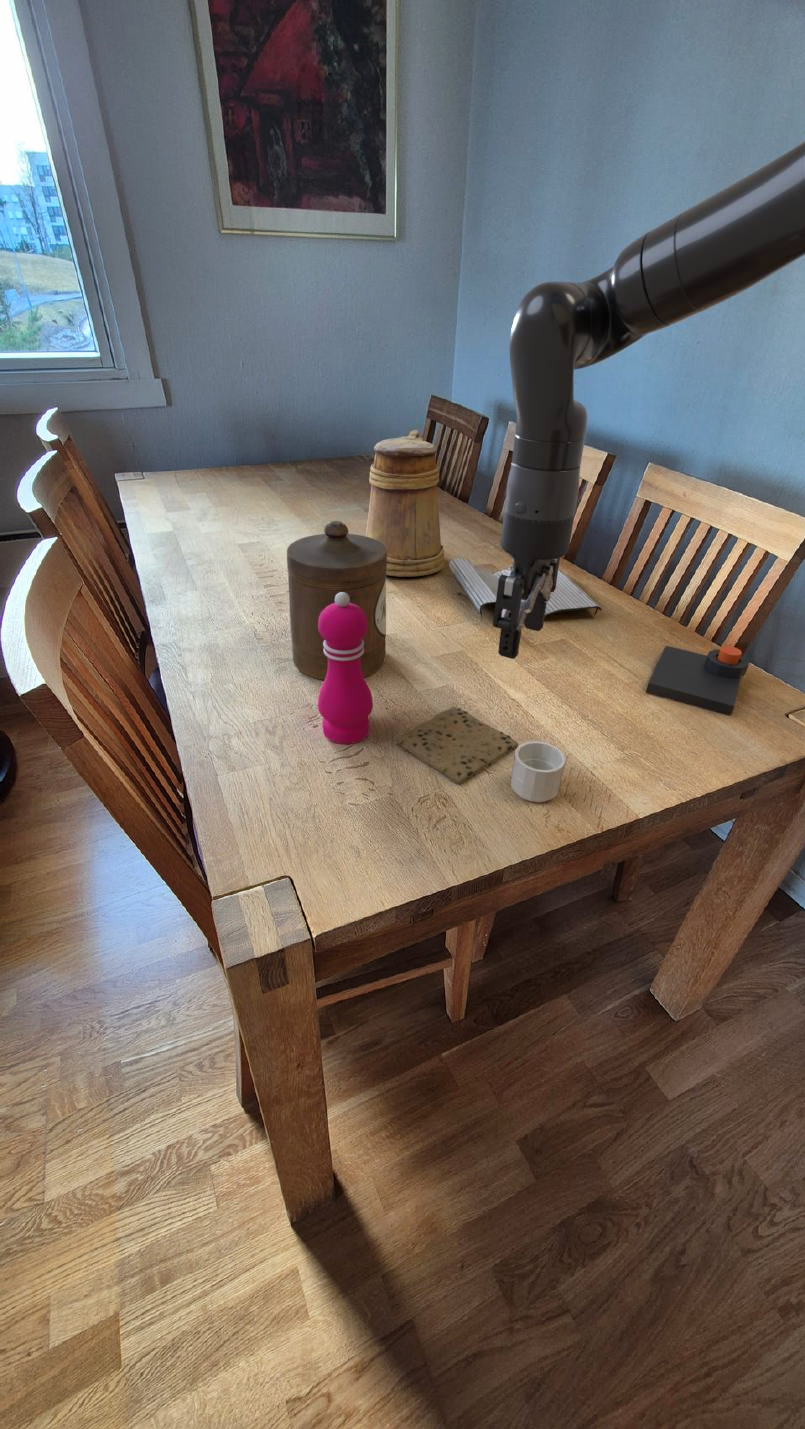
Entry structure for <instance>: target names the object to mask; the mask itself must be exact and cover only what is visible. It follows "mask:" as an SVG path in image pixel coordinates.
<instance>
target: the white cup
mask: <svg viewBox="0 0 805 1429" xmlns="http://www.w3.org/2000/svg"><path fill="white" fill-rule="evenodd" d="M566 763H567V762H566V755H565V754H564V753H563V751H562V750H561V749H560V748H558V747H557V746H555V745H554V744H551V743H548V742H545V741H539V740H538V741H537V740H532V741H526V742H523V743H521V744H518V747H517V748H515V749H514V756H513V761H512V767H511V773H510V780H509V782H510V788H511V789H512V790H513V793H515V794H516V795H517V796H518V797H520V798H521V799H522V800H525V801H528V802H531V803H545V802H548V801H551V800H552V799H554V798H556V797H557V796H558V795H559V792H560V789H561V784H562V781H563V775H564V771H565V766H566Z"/></svg>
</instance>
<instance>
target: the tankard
mask: <svg viewBox="0 0 805 1429" xmlns="http://www.w3.org/2000/svg"><path fill="white" fill-rule="evenodd" d="M437 450H438V449H437V447H436V446H435V445H434V444H433V443H431V442H428V441H427V439H425V438H424V437H420V431H419V430H418V429H412V430H410V432H409V434H408V435H407V436H403V435H402V436H399V437H393V438H386V439H383V440H380V441H378V442H377V443H376V444H375V445H374V447H373V451H374V452H375V453H374V460H373V463H372V464H371V465H370V471H369V478H368V483H369V484H370V485H371V486H370V496H369V505H368V514H367V521H366V522H367V523H366V530H365V536H366V537H370V538H372V539H375V540H377V541H379V542H381V543H382V544H383V545H384V546H385V547H386V550H387V569H386V576H391V577H399V578H400V577H401V578H402V577H403V578H405V577H406V578H409V577H410V578H411V577H422V576H428V575H432V574H435V573H437V572H440V571H441V570H443V569H444V568H445V554H444V553H445V546H444V545H442V539H441V525H440V524H441V522H440V508H439V506H440V505H439V491H438V484H439V483H440V470H439V466H438V465H437V462H436V461H437V460H436V453H437Z"/></svg>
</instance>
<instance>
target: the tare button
mask: <svg viewBox="0 0 805 1429" xmlns="http://www.w3.org/2000/svg"><path fill="white" fill-rule="evenodd" d="M741 655H743V652H742V650H741V649H739V648H738V647H735V646H732V645H731V646H730V645H723V646H721V647H720V652H719V655H718V660H720V661H722V662H724V663H728V664H738V662H739V659H740V657H741Z"/></svg>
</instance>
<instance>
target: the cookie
mask: <svg viewBox="0 0 805 1429" xmlns="http://www.w3.org/2000/svg"><path fill="white" fill-rule="evenodd" d="M393 742H394V743H396V744H397V745H398V746H400V747H402V748H404V749H405V750H406V751H408V752H410V753H411V754H413V755H414V756H416V757H417V758H418V759H419V760H421V761H422V762H423V763H425V764H426V765H429V766H430V767H432V768H434V769H436V770H437V771H439V772H440V773H441V774H443V775H445V776H446V777H447V778H449V779H450V781H452V782H454V783H456V785H461V784H463V783H464V782H465V781H467V780H469V779H470V778H471V777H474V776H476V775H477V774H478V773H479V772H481V771H483V770H484V769H485V768H487V767H490V766H491V765H492V764H494V763H495V762H496V761H497V760H499V759H501V758H502V757H504V756H506V755H508V754H509V753H510V752H512V751H515V750H516V749H517V747H518V746H519V742H517V740H514V738H512V736H510V735H509V734H506V733H504V732H503V731H501V730H498V729H497V728H495V727H492V726H490V725H489V724H487V723H485V722H483V721H481V720H479V719H478V718H476V717H475V716H473V715H472V714H471V713H469V712H468V711H466V710H462V709H461V708H459V707H456V706H452V707H450V708H448V709H445V710H444V711H442V712H440V713H438V714H436V715H434V716H433V717H431V718H428V719H427V720H425V721H424V722H421V723H419V724H418V725H415V726H413V727H411V729H409V730H406V731H404V732H402V733H401V734H399V735H397V736H395V737H393Z"/></svg>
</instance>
